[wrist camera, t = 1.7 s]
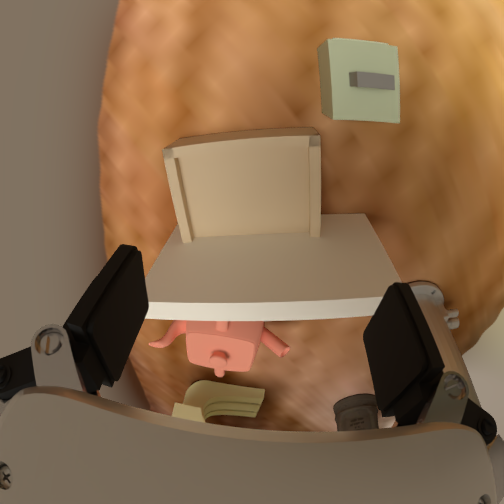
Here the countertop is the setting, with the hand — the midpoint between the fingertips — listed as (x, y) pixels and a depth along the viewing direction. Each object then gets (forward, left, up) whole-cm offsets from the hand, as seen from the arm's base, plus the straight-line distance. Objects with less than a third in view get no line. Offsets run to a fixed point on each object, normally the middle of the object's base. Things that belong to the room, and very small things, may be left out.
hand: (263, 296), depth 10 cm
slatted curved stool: (+13, +51, -22) cm, 57 cm away
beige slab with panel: (+1, +3, -22) cm, 22 cm away
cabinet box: (-8, -8, -22) cm, 24 cm away
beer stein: (-18, +58, -22) cm, 65 cm away
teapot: (+8, +21, -22) cm, 31 cm away
